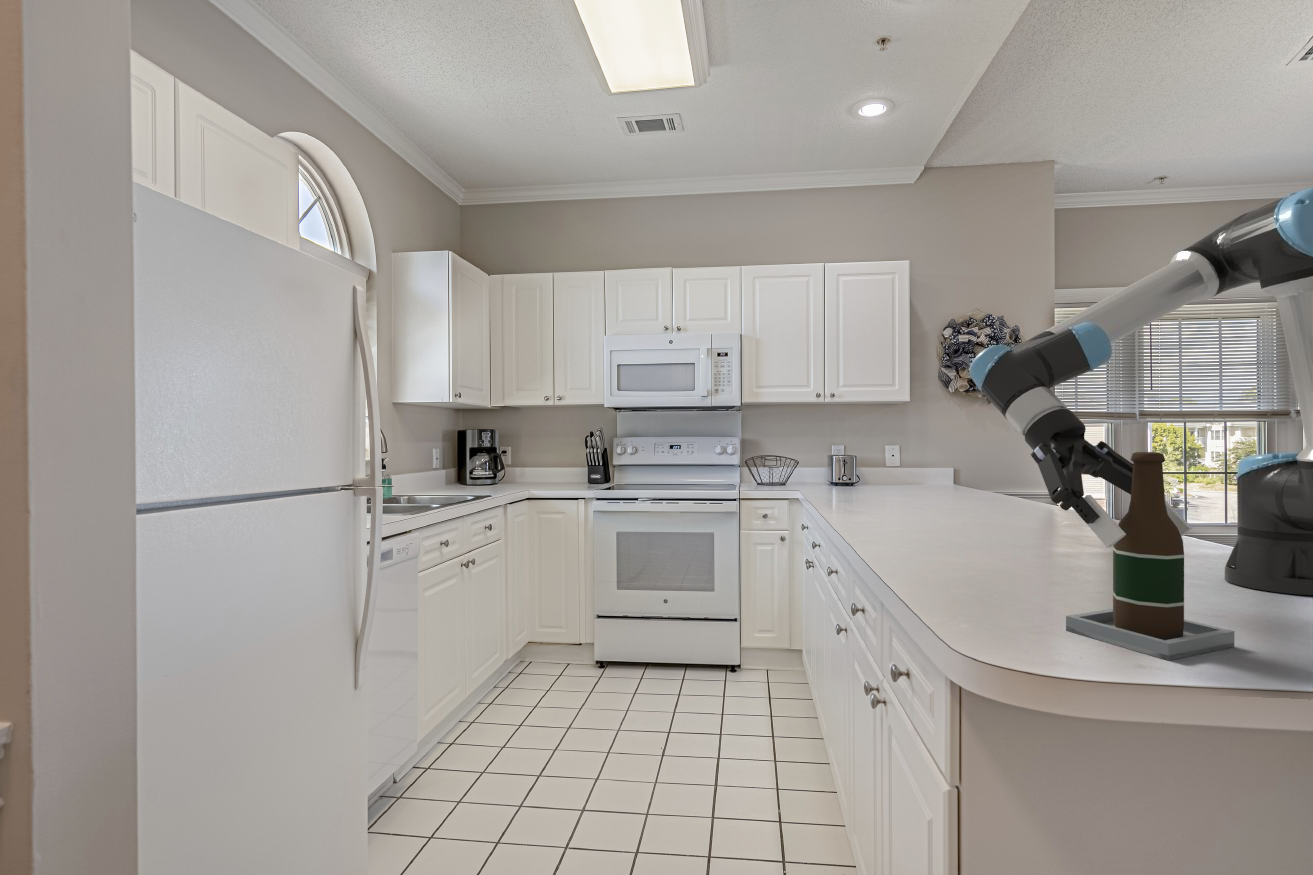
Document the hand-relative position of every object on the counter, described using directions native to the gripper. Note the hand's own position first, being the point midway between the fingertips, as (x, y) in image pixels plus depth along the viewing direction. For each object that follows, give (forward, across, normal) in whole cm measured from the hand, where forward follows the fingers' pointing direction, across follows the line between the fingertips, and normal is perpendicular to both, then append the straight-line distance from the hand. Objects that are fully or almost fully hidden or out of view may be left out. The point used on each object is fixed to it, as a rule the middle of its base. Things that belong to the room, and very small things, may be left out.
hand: (1151, 537), depth 87 cm
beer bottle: (+9, 0, -10) cm, 13 cm away
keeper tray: (+9, 0, -10) cm, 13 cm away
